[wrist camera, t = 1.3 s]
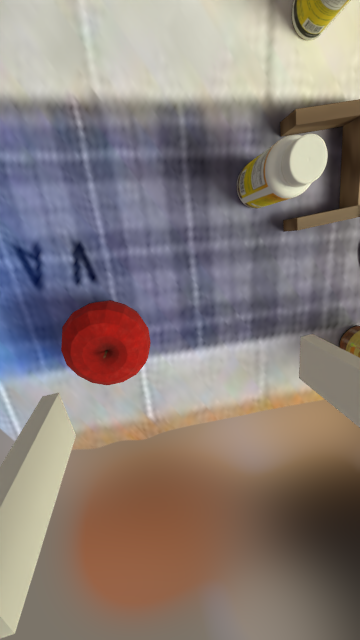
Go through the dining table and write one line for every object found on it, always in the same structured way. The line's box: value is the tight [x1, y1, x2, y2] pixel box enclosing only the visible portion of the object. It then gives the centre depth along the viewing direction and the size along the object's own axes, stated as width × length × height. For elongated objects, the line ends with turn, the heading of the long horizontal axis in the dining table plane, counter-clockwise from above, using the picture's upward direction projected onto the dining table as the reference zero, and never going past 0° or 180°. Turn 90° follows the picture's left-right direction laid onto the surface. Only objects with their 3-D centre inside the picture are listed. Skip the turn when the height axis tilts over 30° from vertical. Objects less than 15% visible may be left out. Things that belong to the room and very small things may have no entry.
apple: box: [61, 300, 150, 385], centre depth 28 cm, size 10×10×11 cm
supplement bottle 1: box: [237, 134, 327, 208], centre depth 26 cm, size 6×6×10 cm
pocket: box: [280, 99, 360, 231], centre depth 30 cm, size 13×10×3 cm
